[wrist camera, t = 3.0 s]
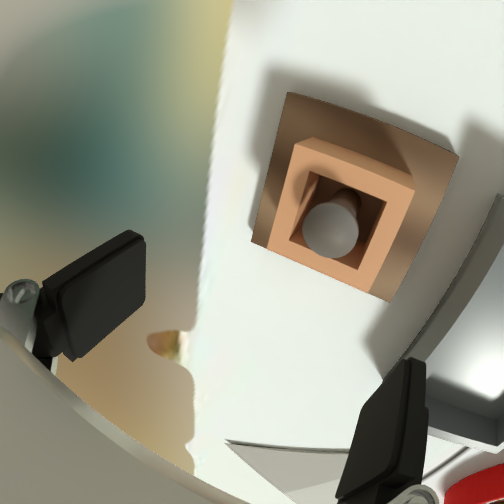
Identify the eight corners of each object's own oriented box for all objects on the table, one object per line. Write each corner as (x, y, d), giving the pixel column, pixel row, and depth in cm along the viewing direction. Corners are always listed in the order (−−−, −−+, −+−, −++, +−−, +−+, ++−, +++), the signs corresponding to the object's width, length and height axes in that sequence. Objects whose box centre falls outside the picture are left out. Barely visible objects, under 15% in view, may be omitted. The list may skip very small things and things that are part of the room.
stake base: (291, 92, 20) (251, 89, 15) (456, 154, 17) (479, 174, 12) (256, 236, 27) (214, 275, 21) (390, 295, 23) (381, 351, 18)
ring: (313, 136, 20) (294, 143, 17) (412, 175, 18) (415, 190, 15) (287, 226, 24) (266, 248, 21) (374, 263, 22) (367, 293, 19)
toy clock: (479, 536, 26) (415, 524, 29) (483, 511, 31) (421, 494, 34) (569, 495, 14) (524, 481, 18) (568, 467, 19) (522, 444, 22)
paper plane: (457, 479, 29) (454, 502, 26) (323, 504, 46) (315, 520, 43) (363, 393, 30) (354, 423, 26) (227, 438, 47) (215, 456, 43)
